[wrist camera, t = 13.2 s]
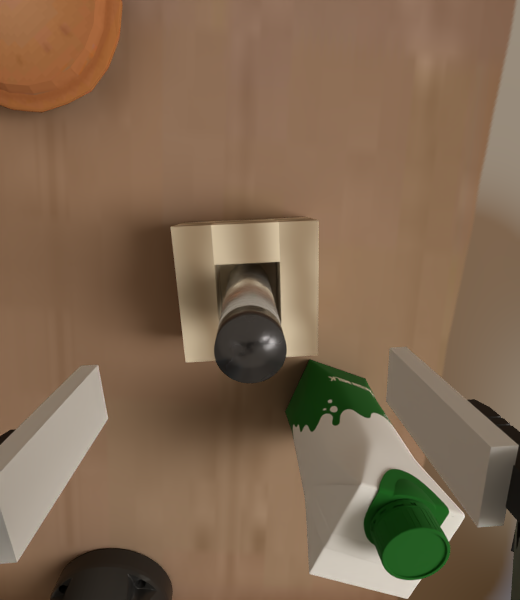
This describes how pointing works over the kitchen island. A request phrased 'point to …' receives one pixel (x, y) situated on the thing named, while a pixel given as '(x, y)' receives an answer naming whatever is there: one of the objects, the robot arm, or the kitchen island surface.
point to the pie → (54, 50)
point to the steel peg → (249, 327)
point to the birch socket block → (238, 250)
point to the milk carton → (364, 489)
